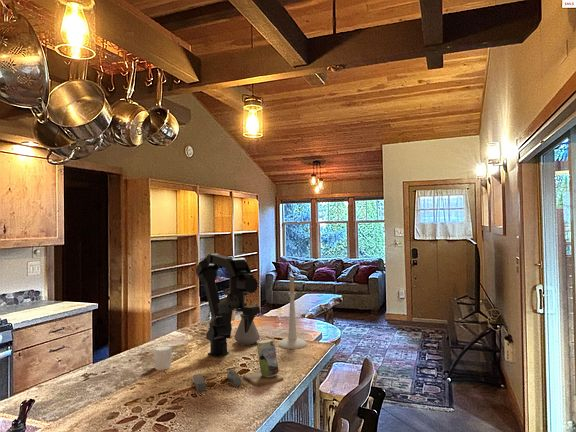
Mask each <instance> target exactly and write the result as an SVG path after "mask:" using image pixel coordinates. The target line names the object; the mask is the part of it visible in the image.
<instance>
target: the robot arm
mask: <svg viewBox="0 0 576 432" xmlns="http://www.w3.org/2000/svg"><path fill="white" fill-rule="evenodd" d="M220 267H223V268H224V269H225V271H226V272H227V273H229V274H227V276H226V278H227V279H229V292H228V293H227V294H226V298H224V299H223V300H221V299H220V296H219V292H218V291H219V290H218V288H217V284H216V279H217V277H218V271H219V269H220ZM195 273H196V276H197V278H198V280H199V282H201V283H202V284H203V286H204V290H205V295H206V300H207V303H208V307H209V311H210V315H211V318H210V321H209V328H208V330H207V332H206V334H205V337H206V340H208V341H210V342H209V343H210V344H209V345H210V348H209V349H210V352H207V355H208V356H213V357H218V358H220V357H222V356H225V355H228V354H230V351H228V343H227V342H228V340H227V339H230V338H231V335H232V331H233V327H232V317H233V311H234V312H235V311H236V312H242V313H241V314H244V315H243V316H242V317H243V318H244V327H245V333H247V332H248V330H249V328H250V325H251V323H252V321H254V320H255V317H257V316H258V314H261V308H260V305H257V306H255V304H254V305H253V304H252V305H248V303H247V302H245V296H247V293H249V294H254V293H256V291H257V289H258V287H259V282H258V281H257V279H256V278H255V277H254V274H252V271H251V268H250V266H249V264H248V262H247V260H246V258H245V257H229V256H225V255H222V254H220V253H209V254H207V255H206V257H205V258H204V259H202V260H200V261H199V263H198V264H197V265H196V269H195Z"/></svg>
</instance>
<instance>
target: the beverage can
mask: <svg viewBox="0 0 576 432" xmlns="http://www.w3.org/2000/svg"><path fill="white" fill-rule="evenodd" d="M257 342H258V344H257V346H256V347H257V355H258V360H259V361H258V362H259V368H260V371H261V375H262V376H264V377H273V376H275V375H277V374H279V372H280V371H279V365H278V357H277V351H276V345H275V342H274V341H273V339H271V338H269V339H268V338H267V339H263V340H261V341H259V340H258V341H257Z"/></svg>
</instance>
